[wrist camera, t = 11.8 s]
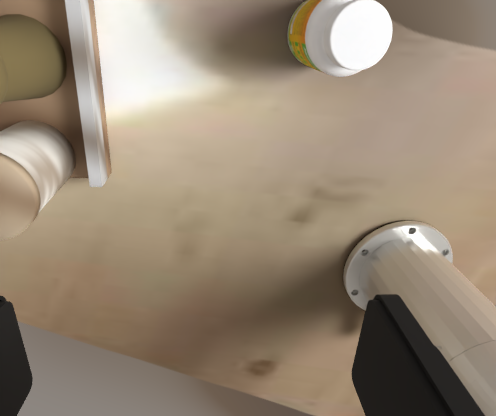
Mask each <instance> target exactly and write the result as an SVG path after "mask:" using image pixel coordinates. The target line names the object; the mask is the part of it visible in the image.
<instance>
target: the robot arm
mask: <svg viewBox="0 0 496 416" xmlns="http://www.w3.org/2000/svg"><path fill="white" fill-rule="evenodd" d="M452 259H453V254H452V249H451V246H450V244H449V242H448V240H447V239H446V238H445V237H444V235H443V234H442V233H440V232H439V231H438V230H437V229H436V228H434V227H432V226H430V225H428V224H426V223H422V222H418V221H401V222H395V223H392V224H388V225H385V226H383V227H381V228H379V229H376V230H375V231H373V232H372V233H370V234H369V235H367V236H366V237H365V238H364V239H362V240H361V241H360V242H359V243H358V244H357V245H356V247H355V248H354V249H353V250H352V252H351V254H350V255H349V257H348V259H347V261H346V264H345V267H344V274H343V280H344V286H345V288H346V291H347V293H348V295H349V297H350V298H351V300H352V301H353V302H354V303H355V304H356V305H357V306H358V307H360V308H361V309H363V310H365V316H364V320H363V324H362V329H361V333H360V337H359V342H358V346H357V350H356V355H355V359H354V363H353V368H352V380H353V384H354V387H355V389H356V392H357V394H358V397H359V400H360V402H361V405H362V407H363V410H364V413H365V415H366V416H496V306H495V305H494V304H493V303H492V302H491V301H490V300H489V299H488V298H487V297H486V296H485V295H483V294H482V293H481V292H480V291H479V290H478V289H477V288H476V287H475V286H474V285H473V284H472V283H471V282H470V281H469V280H468V279H467V278H466V277H465V276H464V275H463V274H462V273H461V272H460V271H459V270H458V269H457V268H456V267H455V266H454V265H453V264H452ZM31 386H32V373H31V370H30V366H29V362H28V359H27V355H26V352H25V348H24V344H23V341H22V337H21V333H20V330H19V326H18V323H17V319H16V315H15V311H14V308H13V305H12V303H11V302H8V301H6V299H5V298H4V297H3V296H0V416H17V414H18V412H19V410H20V409H21V407H22V405H23V403H24V401H25V399H26V397H27V395H28V394H29V392H30V389H31Z"/></svg>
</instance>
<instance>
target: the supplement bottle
mask: <svg viewBox="0 0 496 416" xmlns="http://www.w3.org/2000/svg"><path fill="white" fill-rule="evenodd" d="M391 38H392V22H391V18H390V16H389V14H388V12H387V11H386V9H385V8H384V7H383V6H382V5H381V4H379V3H378V2H376V1H374V0H306V1H305V2H303V3H302V4H301V5H300V6H299V7H298V8H297V9H296V11H295V12H294V13H293V15H292V17H291V20H290V22H289V26H288V43H289V47H290V49H291V51H292V53H293V55H294V56H295V57H296V59H297V60H299V61H300V62H301V63H303V64H304V65H306V66H309V67H311V68H313V69H316V70H318V71H321V72H323V73H326V74H328V75H332V76H337V77H344V76H350V75H353V74H355V73H358V72H359V71H361V70H364V69H367V68H369V67H371V66H373V65H374V64H376V63H377V62H378V61H379V60H380V59H381V58H382V57H383V56H384V54H385V53H386V51H387V49H388V47H389V45H390V42H391Z"/></svg>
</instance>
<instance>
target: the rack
mask: <svg viewBox="0 0 496 416" xmlns="http://www.w3.org/2000/svg"><path fill="white" fill-rule="evenodd" d="M6 14H21V15H25V16H28V17H31V18H34V19H36V20H38V21H39V22H41V23H42V24H44V25H45V26H47V27H48V28H49V29H50V30H51V31H52V33H53V34H54V35H55V36H56V37H57V38H58V40H59V42H60V44H61V46H62V47H63V49H64V52H65V57H66V61H67V70H66V77H65V79H64V81H63V83H62V85H61V87H60V88H58V89H57V90H56V91H55V92H54V93H53V94H51V95H48V96H46V97H43V98H36V99H26V100H17V101H8V102H2V103H1V104H0V241H1V240H7V239H10V238H13V237H15V236H18V235H19V234H21V233H22V232H23V231H25V230H26V229H27V228H28V226H29V225H30V224H31V223H32V222H33V221H34V219H35V218H36V216H37V215H38V213H39V212H40V210H41V209H42V208H43V207H44V206H45V205H46V204H47V203H48V201H49V200H50V199H51V198H52V197H53V196H54V195H55V193H56V192H57V191H58V190H59V189H60V188H61V187H62V186H63V184H64V183H65V182H66V181H67V180H68V179H69V178H70V177H72V178H89V183H90V187H102V186H103V185H104V183H105V182H106V180H107V179H108V177H109V175H110V174H111V163H110V154H109V144H108V134H107V125H106V115H105V106H104V96H103V87H102V77H101V68H100V58H99V48H98V39H97V29H96V20H95V10H94V1H93V0H0V16H3V15H6Z"/></svg>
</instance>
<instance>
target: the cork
mask: <svg viewBox="0 0 496 416" xmlns="http://www.w3.org/2000/svg"><path fill="white" fill-rule="evenodd" d="M66 70H67V61H66V57H65V52H64V49H63V47H62V46H61V44H60V42H59V40H58V38H57V37H56V36H55V35H54V34H53V33H52V31H51V30H50V29H49V28H48V27H47V26H45V25H44V24H42V23H41V22H39V21H38V20H36V19H34V18H31V17H28V16H25V15H21V14H6V15H3V16H0V104H1V103H2V102H8V101H17V100H26V99H36V98H43V97H46V96H48V95H51V94H53V93H54V92H55V91H56V90H57V89H58V88H60V87H61V85H62V83H63V81H64V79H65V77H66Z"/></svg>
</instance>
